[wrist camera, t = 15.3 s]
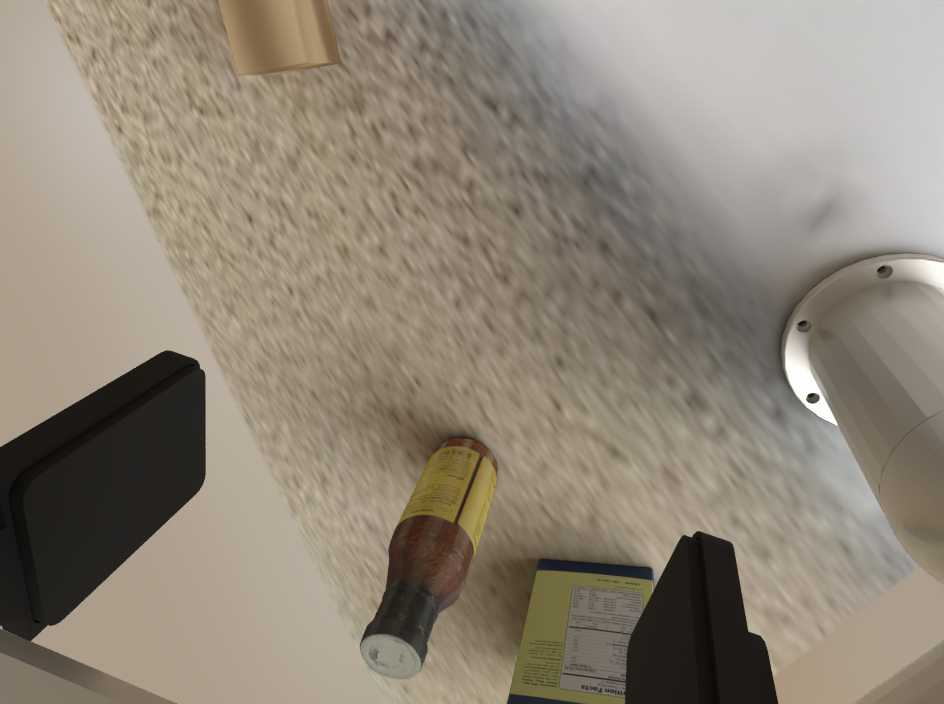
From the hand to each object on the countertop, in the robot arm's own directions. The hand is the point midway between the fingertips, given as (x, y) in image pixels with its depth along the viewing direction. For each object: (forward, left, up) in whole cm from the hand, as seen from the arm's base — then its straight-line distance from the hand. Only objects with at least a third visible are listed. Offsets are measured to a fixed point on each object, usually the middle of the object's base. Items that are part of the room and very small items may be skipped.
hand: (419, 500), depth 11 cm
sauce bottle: (+3, +26, -34) cm, 43 cm away
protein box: (-13, +39, -35) cm, 54 cm away
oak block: (+22, -5, -34) cm, 41 cm away
